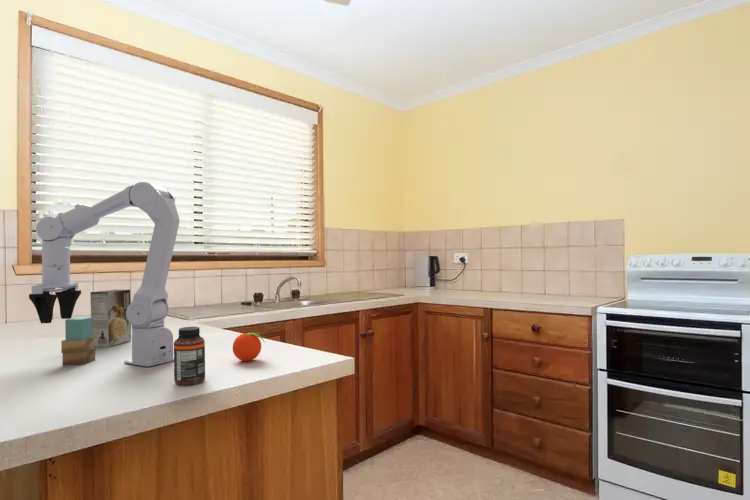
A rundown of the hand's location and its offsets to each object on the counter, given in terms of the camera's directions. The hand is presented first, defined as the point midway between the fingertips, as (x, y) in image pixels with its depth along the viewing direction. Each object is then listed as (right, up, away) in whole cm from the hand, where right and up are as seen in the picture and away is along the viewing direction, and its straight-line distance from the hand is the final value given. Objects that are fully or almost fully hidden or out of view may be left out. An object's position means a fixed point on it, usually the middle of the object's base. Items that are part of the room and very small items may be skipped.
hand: (56, 320), depth 113 cm
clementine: (+48, -10, 0) cm, 49 cm away
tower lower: (+6, -10, 0) cm, 12 cm away
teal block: (+6, -4, 0) cm, 7 cm away
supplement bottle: (+41, -10, -19) cm, 46 cm away
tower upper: (+5, -7, 0) cm, 9 cm away
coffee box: (0, -11, +24) cm, 26 cm away
